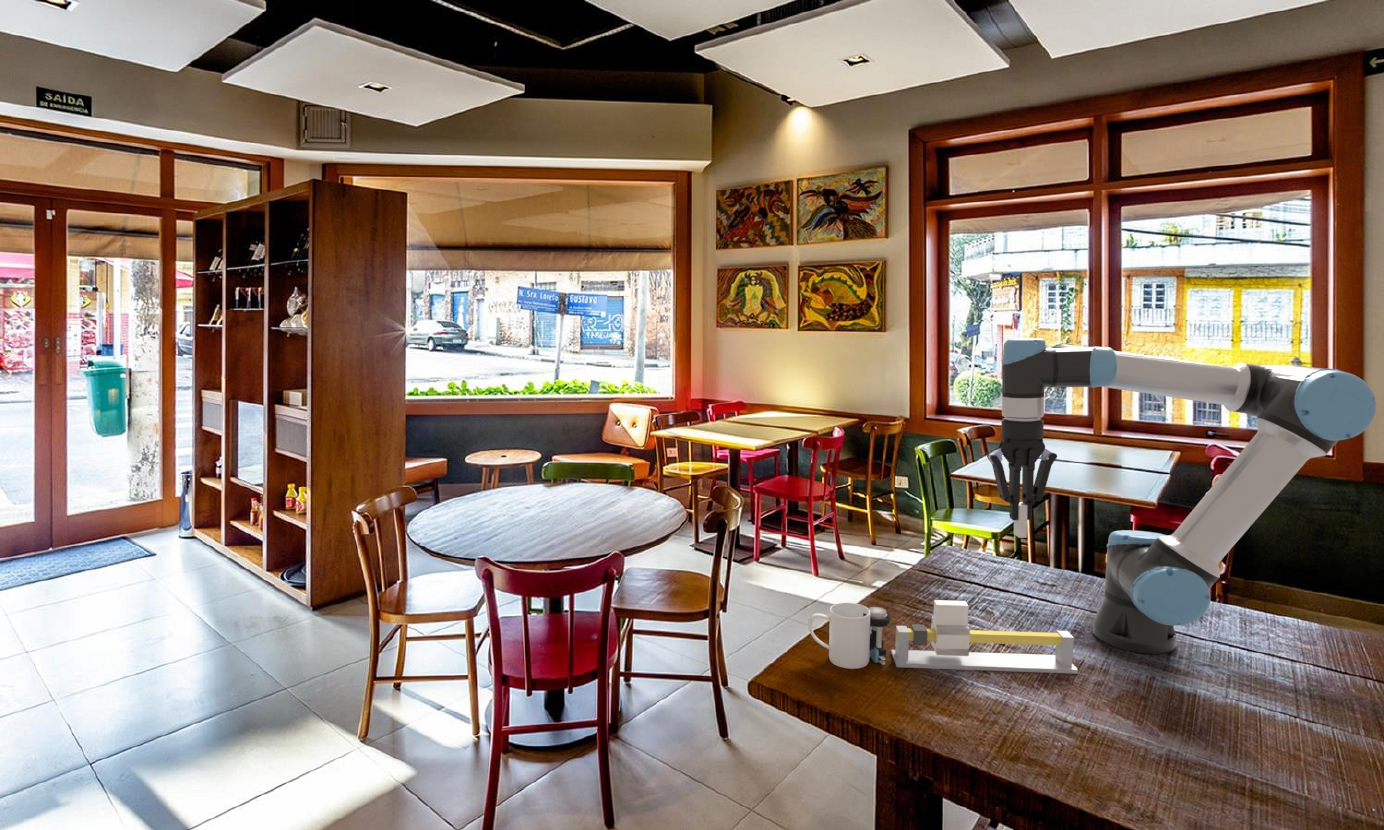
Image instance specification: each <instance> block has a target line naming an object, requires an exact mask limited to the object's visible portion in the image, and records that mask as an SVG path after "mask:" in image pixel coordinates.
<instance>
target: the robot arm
mask: <svg viewBox="0 0 1384 830" xmlns="http://www.w3.org/2000/svg"><path fill="white" fill-rule="evenodd" d="M1001 365H1002V367H1001V377H1002V378H1001V382H1002V383H1001V395H1002V396H1001V416H1002V417H1004V418H1002V420H1001V425H1000V426H1001V429H1000V430H1001V431H1000V432H1001V435H1000V436H1001V441H1000V444H999V445H998V449H996V450H995V451H994V452H989V453H987V454H986V458H987V459H988V461H989V462H990V463H991V465H992V470H993V475H994V478H995V482H996V487H997V491H998V495H999V498H1000V499H1001V500H1002V501H1004V502H1005V503H1009V518H1010V519H1011V520H1012V521H1013V535H1015V536H1016V537H1017V538H1019V539H1022V538H1023V539H1024V538H1028V521H1031V520H1032V518H1033V516H1032V514H1033V506H1034V505H1035V504H1036V502H1041V501H1042V500H1043V498H1044V495H1045V491H1046V488H1047V484H1048V479H1049V476H1050V472H1051V469H1052V465H1053V464H1054V462H1055V461H1056V460H1057V458H1058V454H1057V453H1055V452H1053V451H1050V450H1048V449H1046V445H1045V443H1044V426H1045V423H1044V422H1045V421H1044V420H1043V419H1042V418H1043V417H1044V415H1045V388H1093V389H1095V388H1099V387H1102V388H1108V389H1114V390H1115V389H1116V390H1121V391H1128V392H1135V393H1140V394H1149V395H1155V396H1163V397H1167V398H1168V397H1169V398H1176V399H1183V400H1190V401H1195V402H1201V403H1202V402H1203V403H1208V404H1215V405H1222V406H1224V408H1225V409H1226V410H1227V411H1229V412H1234V413H1239V414H1240V413H1241V414H1246V415H1250V416H1253V417H1256V418H1255V423H1256V427H1257V432H1256V434H1254V436H1253V437H1252V439H1250V441H1249V442H1248V443H1247V444H1246V445H1245V447H1244V448H1243V449H1242V450H1241V451H1240V453H1238V455H1237V456H1236V457H1235V458H1234V460H1233V461H1232V462H1231V464H1229V466H1228V467H1227V468H1226V469H1225V471H1223V473H1222V475H1220V477H1219V478H1218V479H1217V480H1216V482H1214V484H1213V485H1212V486H1211V487H1210V489H1208V491H1207V492H1206V493H1205V494H1204V496H1203V497H1202V498H1201V500H1200V501H1199V502H1198V503H1197V504H1196V506H1194V508H1193V509H1192V511H1191V512H1190V513H1189V514H1188V515H1187V516H1186V517H1185V519H1184V520H1183V521H1182V522H1181V524H1180V525H1179V526H1178V527H1177V529H1175V530H1174V532H1172V533H1171V534H1169V535H1167V534H1163V533H1159V532H1154V531H1153V532H1152V531H1145V530H1144V531H1143V530H1133V529H1132V530H1131V529H1129V530H1128V529H1127V530H1125V529H1122V530H1115V531H1112V532H1110V534H1109V536H1108V542H1107V544H1106V549H1107V551H1106V568H1105V582H1104V595H1103V600H1102V602H1101V604H1100V605H1099V608H1098V610H1097V612H1096V614H1095V617H1094V618H1093V621H1092V633H1093V635H1094V636H1095V637H1096V638H1097V639H1099V640H1100V641H1102V642H1104V643H1105V644H1108V645H1109V646H1113V647H1115V648H1118V649H1121V650H1124V651H1125V650H1126V651H1129V652H1134V653H1139V654H1151V655H1152V654H1153V655H1156V654H1158V655H1159V654H1166V653H1170V652H1172V651H1174V650H1175V649H1176V646H1177V644H1176V643H1177V634H1176V630H1175V628H1174V626H1184V625H1185V626H1186V625H1189V624H1191V623H1193V622H1196V621H1198V620H1199V619H1200V618H1202V617H1203V616H1204V615H1205V614H1206V613H1207V611H1208V609H1209V606H1210V605H1211V593H1210V592H1211V591H1210V589H1211V588H1212V587H1213V585H1214V584H1215V583H1216V582H1217V581H1218V580H1219V578H1220V576H1221V573H1220V569H1219V568H1220V567H1219V563H1220V562H1221V561H1222V560H1223V559H1224V557H1225V556H1226V555H1227V554H1228V553H1229V552H1230V551H1231V550H1232V548H1233V547H1234V546H1235V545H1236V543H1237V542H1238V541H1239V540H1240V539H1241V538H1242V537H1243V536H1244V535H1245V533H1246V532H1247V531H1248V530H1249V528H1250V527H1251V526H1252V525H1253V524H1254V523H1255V521H1256V520H1257V519H1259V517H1260V516H1261V515H1262V513H1264V511H1265V510H1266V509H1267V508H1268V507H1269V505H1271V503H1272V502H1273V501H1274V500H1275V499H1276V497H1277V496H1278V495H1279V494H1280V492H1281V491H1282V490H1283V489H1284V488H1285V487H1286V486H1287V485H1288V484H1289V482H1290V481H1291V480H1292V479H1293V478H1294V476H1296V474H1297V473H1298V472H1299V470H1300V469H1301V468H1302V467H1304V465H1305V464H1306V462H1307V461H1308V460H1310V459H1314V458H1320V457H1326V456H1327V454H1329V452H1330V451H1331V450H1332V449H1333V447H1334V446H1335V445H1337V443H1338V442H1339V441H1343V440H1348V439H1352V438H1355V437H1357V436H1359V435H1360V434H1362V433H1363V432H1364V431H1366V430H1367V429H1368V428H1369V427H1370V425H1371V424H1372V422H1373V421H1374V418H1375V417H1376V411H1377V402H1376V399H1375V393H1374V391H1373V390H1372V388H1371V386H1369V384H1367V382H1366V381H1364V380H1363V379H1362V378H1360V377H1358V376H1357V375H1355V374H1353V373H1350V372H1347V371H1344V370H1343V371H1342V370H1341V369H1337V368H1323V367H1312V366H1306V365H1296V364H1295V365H1289V364H1288V365H1279V364H1278V365H1277V364H1276V365H1275V364H1273V365H1268V364H1254V363H1252V364H1251V363H1245V362H1240V363H1237V364H1236V365H1234V366H1230V365H1229V366H1228V365H1221V364H1215V363H1214V364H1212V363H1205V362H1199V361H1198V362H1197V361H1190V360H1183V359H1177V358H1169V357H1161V356H1156V355H1155V356H1153V355H1147V354H1146V355H1145V354H1139V353H1131V352H1125V351H1119V350H1118V351H1116V350H1114V349H1113V348H1112V347H1109V346H1107V347H1106V346H1103V347H1102V346H1080V345H1072V344H1069V343H1060V344H1055V345H1052V346H1051V347H1047V345H1046V341H1045V340H1044V338H1041V337H1039V338H1038V337H1034V338H1033V337H1031V338H1030V337H1029V338H1023V337H1022V338H1012V339H1011V338H1009V339H1007V340H1005V342H1004V344H1003V351H1002V361H1001ZM1003 458H1004V459H1005V460H1006V461H1007V462H1008V470H1009V471H1008V474H1009V475H1008V482H1007V477H1006V474H1005V469H1004V466H1003V463H1002V461H1003ZM1039 458H1040V461H1039V460H1038V459H1039ZM1037 461H1039V465H1038V470H1037V472H1036V475H1035V474H1034V472H1035V470H1036V462H1037ZM1021 471H1022V472H1021ZM1021 473H1022V475H1021ZM1034 475H1035V479H1034ZM1021 477H1022V479H1021ZM1021 480H1022V481H1021ZM1021 485H1022V486H1021ZM1020 499H1021V501H1020Z"/></svg>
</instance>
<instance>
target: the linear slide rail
mask: <svg viewBox="0 0 1384 830" xmlns="http://www.w3.org/2000/svg"><path fill="white" fill-rule="evenodd" d="M896 628H897V630H898V639H897V637H896V636H895V643H894V644H895V648H894V649H891V650H890V651H891V656H892V659H893V662H894V663H895V667H896V668H904V669H905V668H908V669H910V668H911V669H935V670H936V669H937V670H939V669H940V670H964V671H965V670H966V671H971V670H972V671H987V672H988V671H990V672H993V671H995V672H996V671H997V672H1019V673H1023V672H1024V673H1049V674H1075V675H1078V674H1079V669H1078V667H1076V666H1075V664H1073V656H1074V640H1075V637H1074V636H1073V635H1072V634H1071V633H1070V632H1069V631H1068V630H1056V633H1059V634H1060V636H1061V637H1062V641H1061V646H1056V645H1055V654H1031V653H1030V654H1029V653H1028V654H1027V653H1008V652H1007V653H1003V652H1002V653H999V652H998V653H997V652H974V651H973V652H972V651H969V656H949V655H937V654H936V652H935V650H919V649H918V650H917V649H916V650H915V649H914V650H913V649H909V646H910V641H909V631H908V629H907V628H908V627H907V625H895V629H896Z"/></svg>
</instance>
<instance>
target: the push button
mask: <svg viewBox="0 0 1384 830" xmlns="http://www.w3.org/2000/svg"><path fill="white" fill-rule="evenodd" d="M868 609H869V610H870V650H869V659H871V660H872V661H873V662H874V663H876V664H878V663H879V664H881V665H883V666H884V665H886V662H885V661H886V657H887V650H886V648H885V645H884V644H885V642H884V639H883V630H884V629H883V628H886V627H887V626H889V624H890V620H891V618H892V616H891V614H890V613H888V612H887V610H886V609H885V608H883V607H879V606H871V607H869V608H868ZM863 616H866V614H864V613H863Z"/></svg>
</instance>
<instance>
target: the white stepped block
mask: <svg viewBox="0 0 1384 830" xmlns="http://www.w3.org/2000/svg"><path fill="white" fill-rule="evenodd" d="M930 625H931V626H930V629H935V630H936V642H934V641H930V644H931V646H932V648H933V651H935V652H936V654H937V655H949V656H969V652H970V643H969V640H970V630H971V629H970V627H969V604H968V603H967V601H966V600H942V599H941V600H940V599H934V600H933V615H932V616H931V624H930Z"/></svg>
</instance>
